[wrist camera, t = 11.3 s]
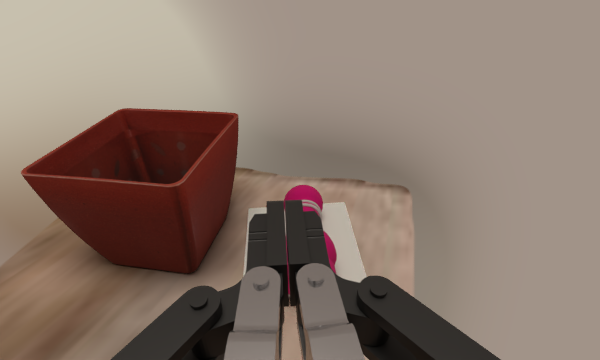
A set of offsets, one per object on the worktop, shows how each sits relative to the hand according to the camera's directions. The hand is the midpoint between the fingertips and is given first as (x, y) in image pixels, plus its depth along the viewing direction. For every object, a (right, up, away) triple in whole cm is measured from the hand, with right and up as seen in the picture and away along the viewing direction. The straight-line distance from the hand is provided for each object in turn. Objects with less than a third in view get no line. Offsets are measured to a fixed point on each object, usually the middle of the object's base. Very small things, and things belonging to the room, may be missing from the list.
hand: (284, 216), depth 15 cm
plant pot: (-18, -7, +38) cm, 43 cm away
